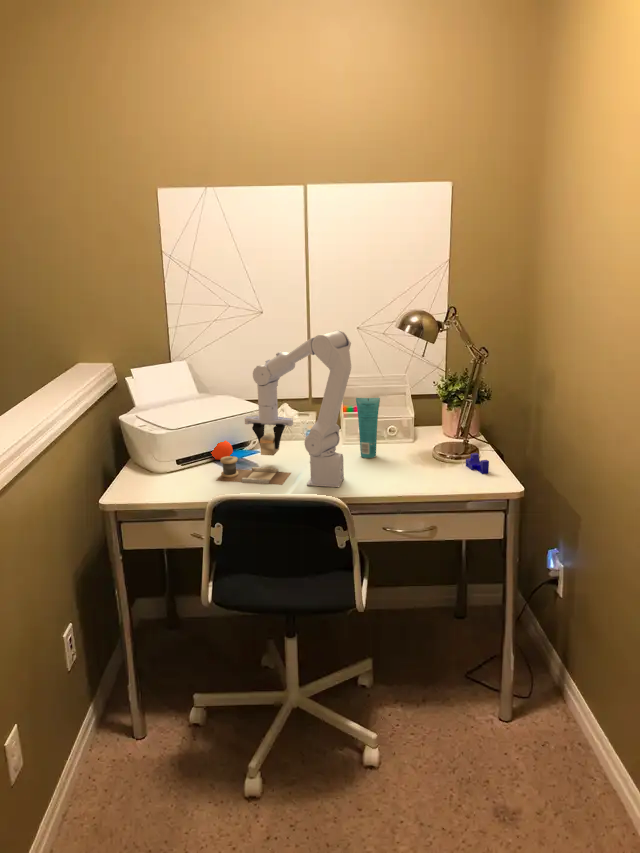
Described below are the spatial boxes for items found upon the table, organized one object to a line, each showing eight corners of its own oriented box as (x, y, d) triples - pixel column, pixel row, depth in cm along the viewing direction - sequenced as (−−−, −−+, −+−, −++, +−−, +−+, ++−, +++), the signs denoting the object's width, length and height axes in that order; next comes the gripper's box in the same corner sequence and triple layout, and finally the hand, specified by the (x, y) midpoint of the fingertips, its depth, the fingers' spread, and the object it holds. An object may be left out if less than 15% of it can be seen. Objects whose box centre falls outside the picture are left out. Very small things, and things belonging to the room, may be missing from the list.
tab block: (279, 449, 225) (278, 433, 224) (273, 455, 219) (273, 439, 218) (266, 448, 226) (265, 433, 224) (260, 454, 220) (259, 439, 219)
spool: (240, 472, 218) (239, 456, 217) (235, 478, 214) (234, 462, 212) (224, 471, 220) (223, 455, 218) (218, 477, 215) (217, 461, 213)
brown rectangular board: (291, 477, 218) (291, 469, 217) (282, 489, 208) (282, 481, 208) (228, 473, 222) (227, 465, 222) (216, 485, 213) (215, 477, 212)
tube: (379, 453, 237) (379, 395, 232) (380, 458, 233) (380, 399, 227) (356, 454, 237) (355, 396, 232) (356, 458, 232) (356, 400, 227)
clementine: (214, 467, 228) (213, 445, 226) (204, 461, 233) (203, 440, 231) (237, 461, 232) (236, 440, 230) (226, 456, 238) (225, 435, 236)
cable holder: (465, 466, 224) (466, 454, 223) (476, 465, 225) (476, 453, 224) (477, 475, 217) (478, 462, 216) (488, 474, 218) (488, 461, 216)
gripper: (295, 401, 220) (296, 444, 224) (249, 399, 224) (251, 442, 228) (288, 407, 214) (290, 451, 218) (241, 405, 217) (243, 449, 221)
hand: (269, 447), depth 222 cm, fingers closed on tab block, 4 cm apart
